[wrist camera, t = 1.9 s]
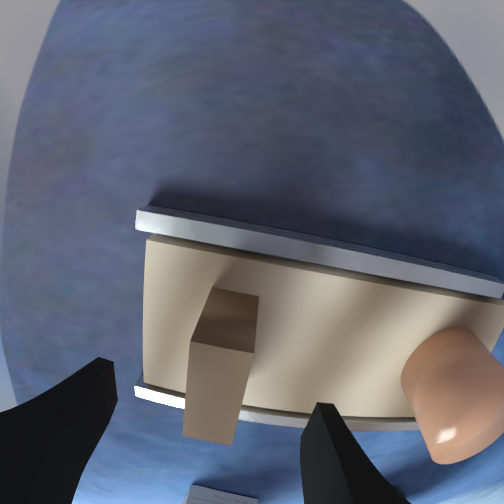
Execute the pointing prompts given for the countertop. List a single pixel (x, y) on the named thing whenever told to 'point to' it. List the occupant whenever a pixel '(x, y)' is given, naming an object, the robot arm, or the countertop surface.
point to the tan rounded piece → (455, 394)
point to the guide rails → (314, 252)
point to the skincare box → (214, 497)
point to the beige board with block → (287, 333)
